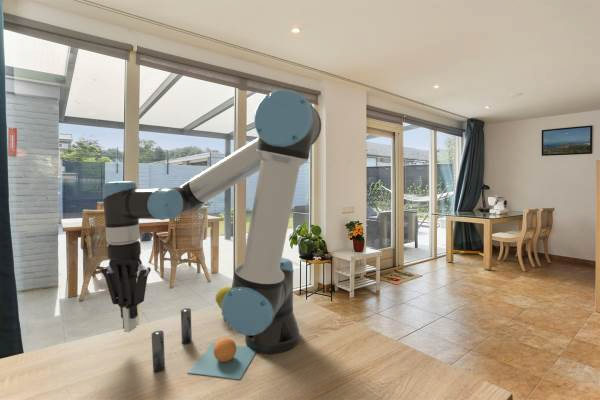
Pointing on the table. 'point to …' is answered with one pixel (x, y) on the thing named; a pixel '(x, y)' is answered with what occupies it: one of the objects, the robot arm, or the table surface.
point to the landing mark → (223, 364)
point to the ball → (224, 349)
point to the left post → (158, 351)
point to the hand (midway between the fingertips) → (130, 329)
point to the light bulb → (221, 295)
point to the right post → (186, 326)
